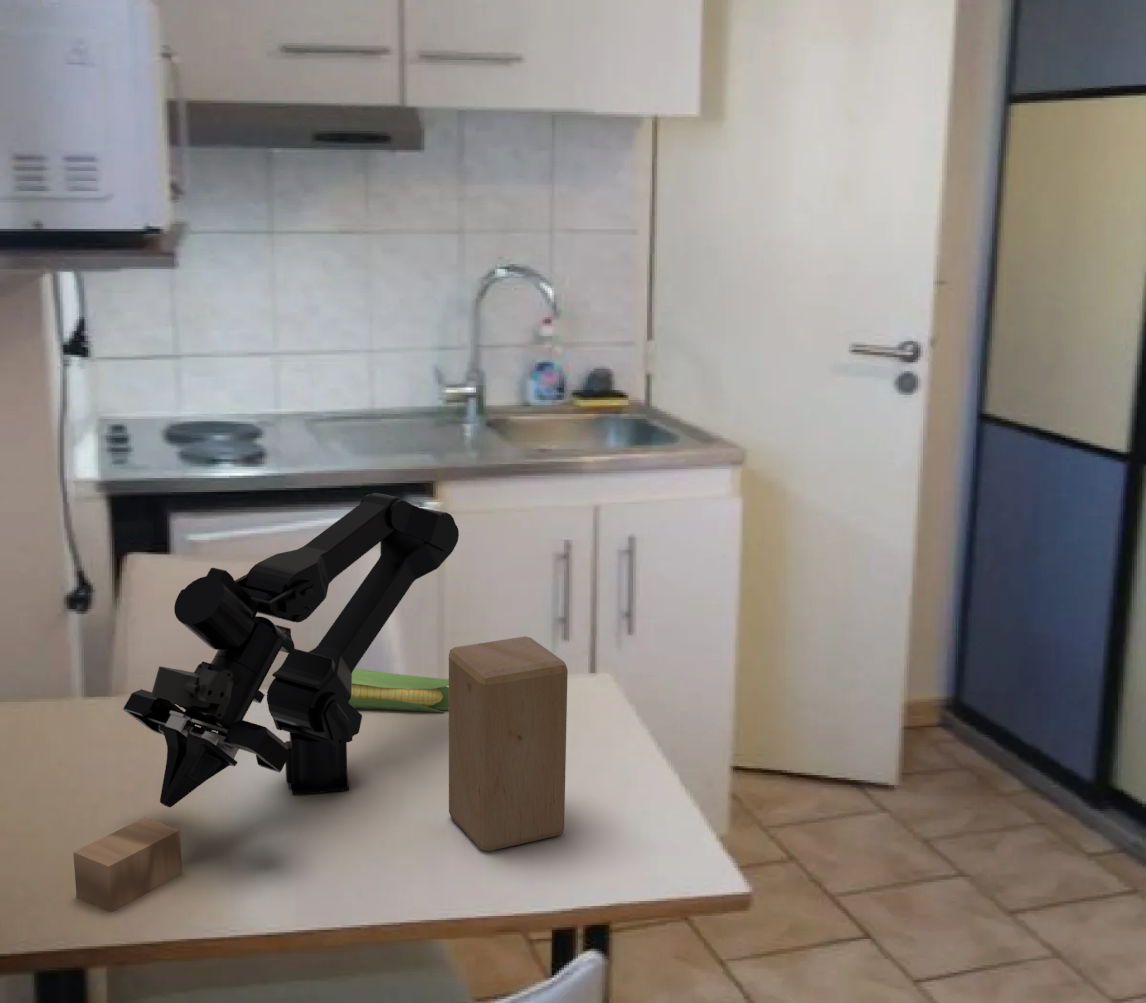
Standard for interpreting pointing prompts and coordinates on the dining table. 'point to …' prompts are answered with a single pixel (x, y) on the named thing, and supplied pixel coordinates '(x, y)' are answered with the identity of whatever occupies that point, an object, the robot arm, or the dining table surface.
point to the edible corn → (398, 692)
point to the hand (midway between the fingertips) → (164, 805)
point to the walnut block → (127, 863)
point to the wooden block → (507, 741)
